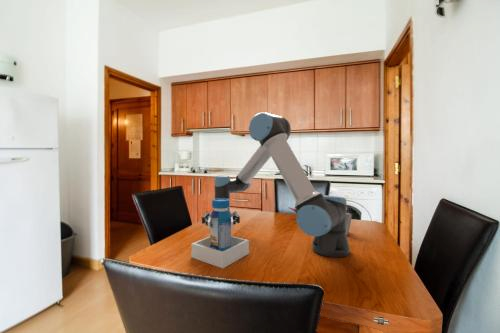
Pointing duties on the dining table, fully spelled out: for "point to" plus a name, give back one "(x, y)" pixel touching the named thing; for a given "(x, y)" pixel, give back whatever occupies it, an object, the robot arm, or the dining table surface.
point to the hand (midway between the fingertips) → (220, 225)
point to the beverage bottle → (220, 225)
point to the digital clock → (348, 222)
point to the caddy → (219, 252)
